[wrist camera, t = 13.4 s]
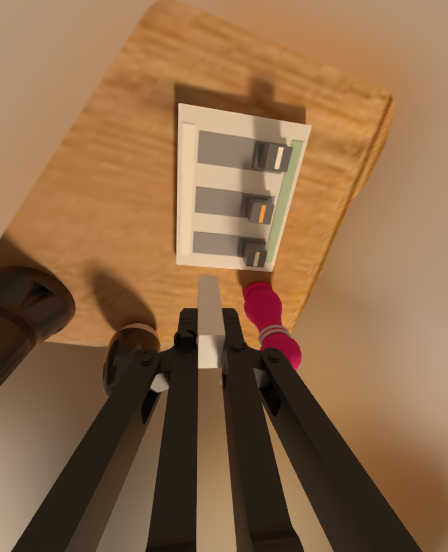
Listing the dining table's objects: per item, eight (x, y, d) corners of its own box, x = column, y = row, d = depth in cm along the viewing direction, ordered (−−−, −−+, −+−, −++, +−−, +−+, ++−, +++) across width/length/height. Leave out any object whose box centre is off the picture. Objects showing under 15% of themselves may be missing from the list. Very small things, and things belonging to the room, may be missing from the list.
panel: (177, 259, 39) (176, 264, 38) (180, 106, 28) (178, 102, 26) (269, 267, 42) (272, 272, 40) (305, 127, 30) (312, 125, 29)
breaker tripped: (240, 215, 34) (245, 223, 30) (243, 195, 32) (249, 200, 28) (266, 218, 34) (274, 226, 30) (271, 198, 33) (280, 204, 29)
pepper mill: (252, 273, 42) (284, 356, 25) (281, 286, 44) (328, 371, 27) (235, 299, 45) (252, 389, 28) (262, 311, 47) (294, 400, 30)
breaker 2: (252, 168, 31) (259, 170, 27) (256, 142, 29) (264, 140, 25) (281, 172, 31) (292, 174, 27) (287, 147, 30) (299, 145, 26)
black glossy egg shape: (138, 354, 51) (114, 422, 38) (107, 327, 46) (68, 394, 33) (172, 338, 50) (160, 404, 36) (144, 308, 45) (118, 372, 32)
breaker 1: (237, 255, 37) (241, 267, 33) (240, 238, 36) (244, 248, 32) (261, 257, 38) (267, 269, 34) (265, 240, 36) (272, 251, 32)
